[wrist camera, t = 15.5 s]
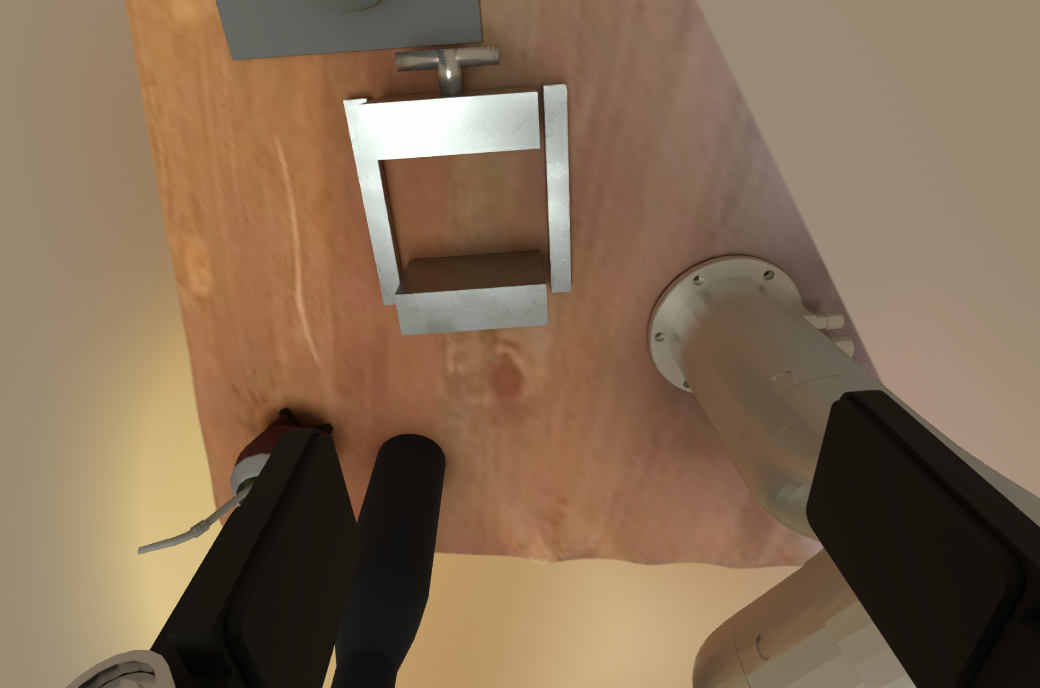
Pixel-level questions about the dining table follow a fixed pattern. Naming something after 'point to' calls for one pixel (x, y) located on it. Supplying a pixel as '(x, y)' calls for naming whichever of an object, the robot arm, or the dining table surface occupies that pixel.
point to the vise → (448, 131)
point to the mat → (344, 26)
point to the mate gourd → (242, 474)
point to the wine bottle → (391, 563)
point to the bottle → (347, 4)
